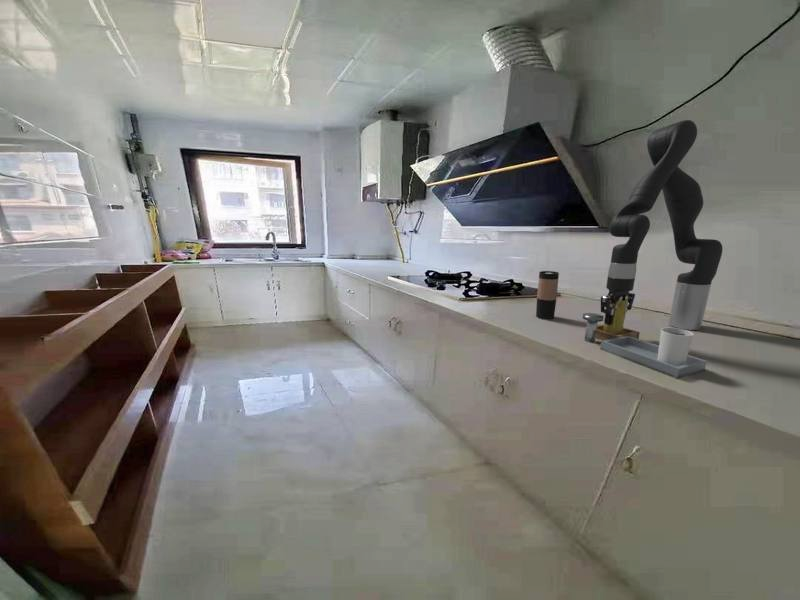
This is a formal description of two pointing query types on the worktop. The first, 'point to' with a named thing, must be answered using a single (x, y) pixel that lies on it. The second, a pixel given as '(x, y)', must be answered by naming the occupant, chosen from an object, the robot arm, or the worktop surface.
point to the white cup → (674, 346)
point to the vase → (617, 319)
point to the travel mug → (547, 294)
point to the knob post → (591, 325)
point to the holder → (606, 336)
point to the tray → (650, 356)
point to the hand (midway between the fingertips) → (614, 322)
